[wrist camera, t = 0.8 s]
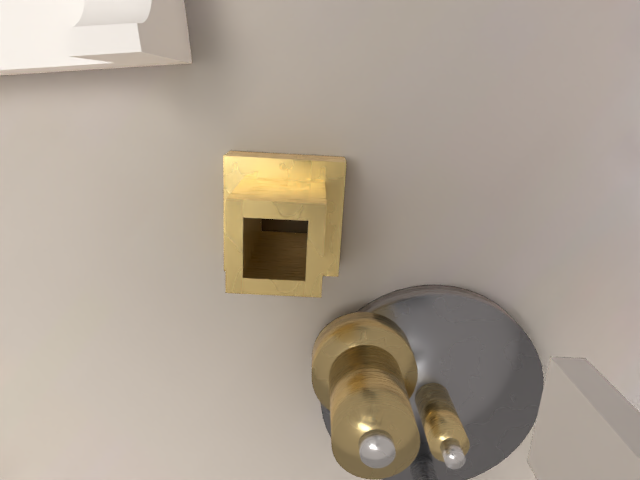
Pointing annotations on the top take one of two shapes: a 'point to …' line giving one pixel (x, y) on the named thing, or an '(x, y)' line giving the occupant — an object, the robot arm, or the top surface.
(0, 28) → the bracket
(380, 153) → the top surface
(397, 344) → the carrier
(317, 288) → the brass square sleeve
